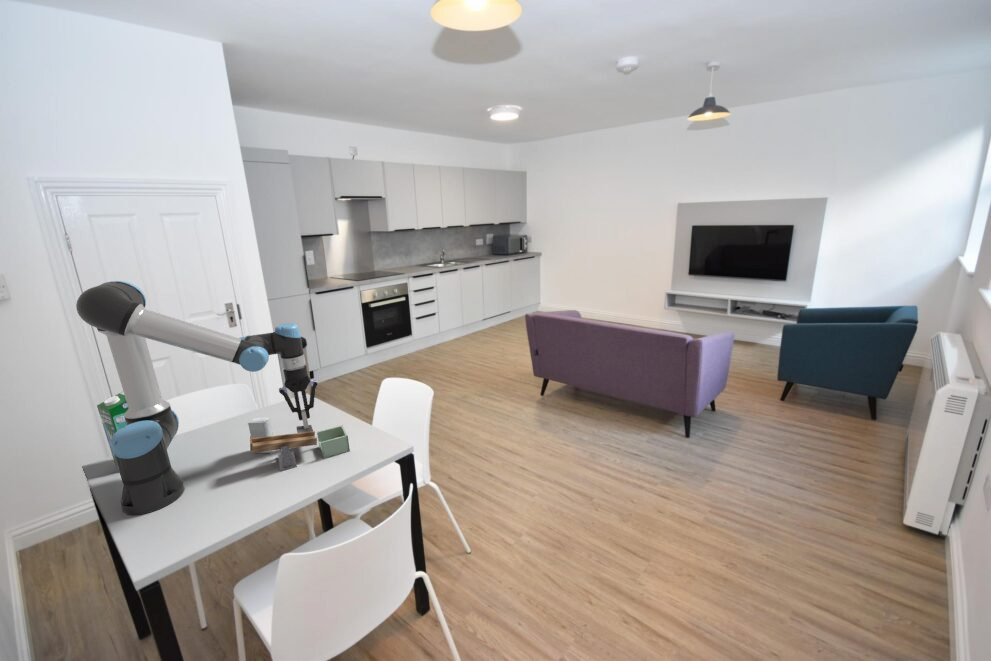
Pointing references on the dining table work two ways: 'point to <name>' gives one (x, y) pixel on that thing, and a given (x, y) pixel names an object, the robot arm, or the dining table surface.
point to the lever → (284, 440)
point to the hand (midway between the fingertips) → (306, 426)
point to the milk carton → (113, 415)
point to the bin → (333, 441)
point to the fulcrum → (286, 458)
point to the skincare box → (261, 428)
